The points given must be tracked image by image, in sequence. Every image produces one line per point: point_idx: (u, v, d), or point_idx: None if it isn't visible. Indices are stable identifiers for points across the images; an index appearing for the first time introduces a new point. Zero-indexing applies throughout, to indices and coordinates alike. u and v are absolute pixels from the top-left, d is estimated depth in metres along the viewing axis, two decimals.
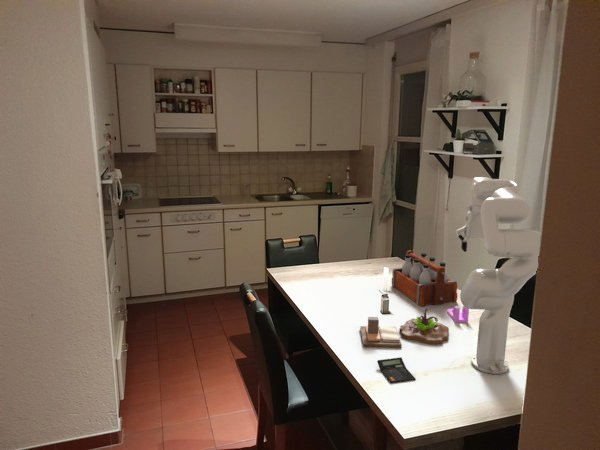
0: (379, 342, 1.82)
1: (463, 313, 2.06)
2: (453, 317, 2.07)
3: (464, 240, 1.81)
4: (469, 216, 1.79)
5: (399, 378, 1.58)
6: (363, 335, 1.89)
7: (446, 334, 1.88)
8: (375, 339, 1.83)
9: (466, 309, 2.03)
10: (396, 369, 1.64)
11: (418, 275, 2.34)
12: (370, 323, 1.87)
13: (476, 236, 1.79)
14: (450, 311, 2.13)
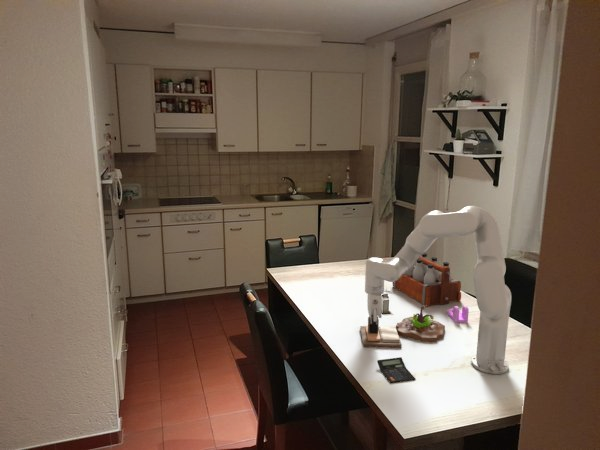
0: (379, 342, 1.82)
1: (463, 313, 2.06)
2: (453, 317, 2.07)
3: (377, 322, 1.85)
4: (379, 298, 1.81)
5: (399, 378, 1.58)
6: (363, 335, 1.89)
7: (441, 332, 1.90)
8: (375, 339, 1.83)
9: (466, 309, 2.03)
10: (396, 369, 1.64)
11: (421, 275, 2.33)
12: None
13: None
14: (450, 311, 2.13)
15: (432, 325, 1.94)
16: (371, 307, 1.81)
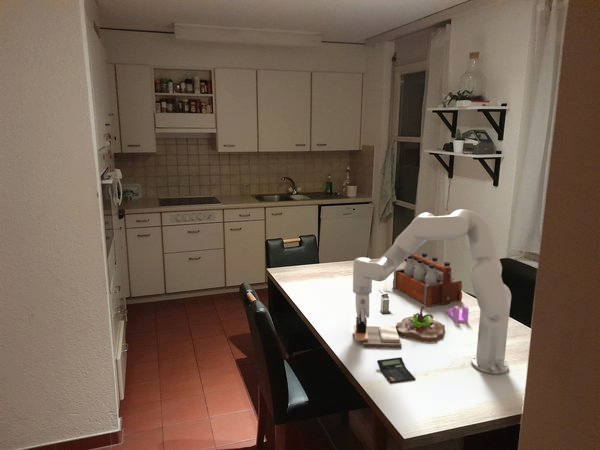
0: (379, 342, 1.82)
1: (463, 313, 2.06)
2: (453, 317, 2.07)
3: (364, 322, 1.86)
4: (367, 298, 1.81)
5: (399, 378, 1.58)
6: None
7: (441, 332, 1.91)
8: (363, 339, 1.83)
9: (466, 309, 2.03)
10: (396, 369, 1.64)
11: (422, 275, 2.33)
12: None
13: None
14: (450, 311, 2.13)
15: (432, 325, 1.94)
16: (359, 307, 1.82)
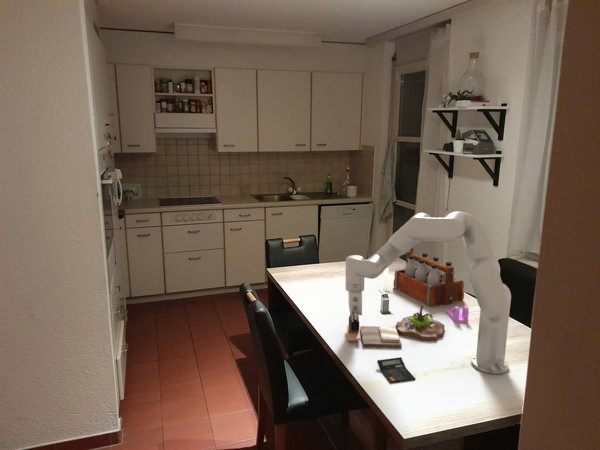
0: (379, 342, 1.82)
1: (463, 313, 2.05)
2: (453, 317, 2.06)
3: (358, 320, 1.82)
4: (359, 296, 1.81)
5: (399, 378, 1.58)
6: (363, 335, 1.89)
7: (441, 331, 1.91)
8: (355, 339, 1.84)
9: (466, 309, 2.03)
10: (396, 369, 1.64)
11: (424, 276, 2.33)
12: (350, 323, 1.87)
13: None
14: (450, 311, 2.13)
15: (432, 324, 1.95)
16: (351, 305, 1.82)
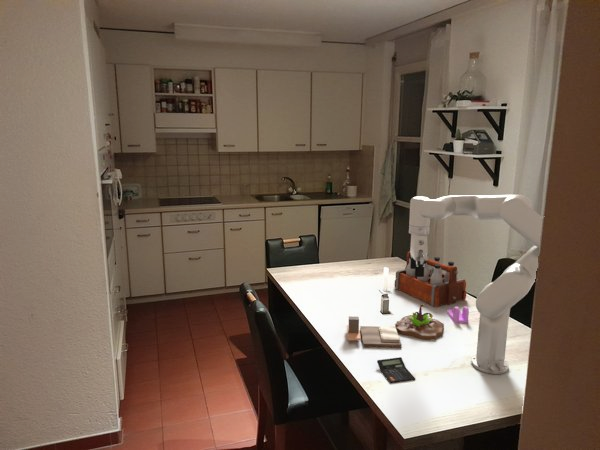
0: (379, 342, 1.82)
1: (463, 313, 2.05)
2: (453, 317, 2.06)
3: (423, 265, 1.71)
4: (425, 239, 1.70)
5: (399, 378, 1.58)
6: (363, 335, 1.89)
7: (440, 330, 1.92)
8: (355, 339, 1.84)
9: (466, 309, 2.03)
10: (396, 369, 1.64)
11: (427, 276, 2.32)
12: (350, 323, 1.87)
13: None
14: (450, 311, 2.13)
15: (431, 323, 1.96)
16: (416, 248, 1.70)
